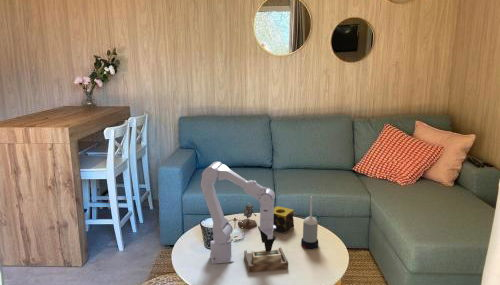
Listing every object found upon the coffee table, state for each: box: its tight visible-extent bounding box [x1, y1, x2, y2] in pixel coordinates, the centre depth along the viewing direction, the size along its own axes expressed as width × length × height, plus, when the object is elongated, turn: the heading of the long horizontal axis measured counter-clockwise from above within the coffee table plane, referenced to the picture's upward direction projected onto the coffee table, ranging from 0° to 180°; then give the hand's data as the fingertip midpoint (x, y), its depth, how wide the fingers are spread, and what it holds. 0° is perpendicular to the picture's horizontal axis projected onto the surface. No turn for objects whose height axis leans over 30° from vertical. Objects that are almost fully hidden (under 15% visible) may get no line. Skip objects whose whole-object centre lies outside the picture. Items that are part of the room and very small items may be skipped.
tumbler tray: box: [251, 248, 281, 264], centre depth 164 cm, size 12×5×4 cm, turn 100°
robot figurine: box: [237, 202, 258, 230], centre depth 201 cm, size 11×9×12 cm
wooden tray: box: [243, 247, 289, 274], centre depth 166 cm, size 17×13×3 cm
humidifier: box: [300, 195, 319, 250], centre depth 178 cm, size 8×8×25 cm
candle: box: [273, 205, 295, 235], centre depth 198 cm, size 10×10×10 cm
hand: (266, 246), depth 163 cm, fingers open, 7 cm apart
